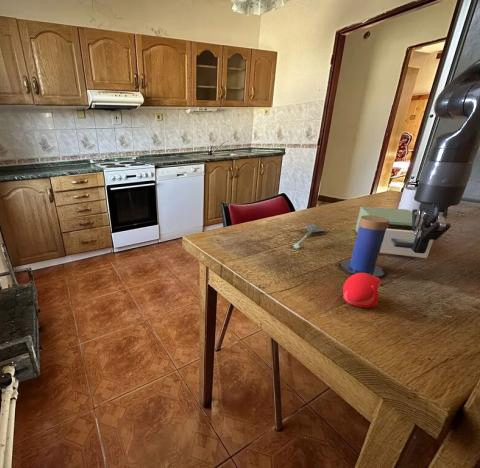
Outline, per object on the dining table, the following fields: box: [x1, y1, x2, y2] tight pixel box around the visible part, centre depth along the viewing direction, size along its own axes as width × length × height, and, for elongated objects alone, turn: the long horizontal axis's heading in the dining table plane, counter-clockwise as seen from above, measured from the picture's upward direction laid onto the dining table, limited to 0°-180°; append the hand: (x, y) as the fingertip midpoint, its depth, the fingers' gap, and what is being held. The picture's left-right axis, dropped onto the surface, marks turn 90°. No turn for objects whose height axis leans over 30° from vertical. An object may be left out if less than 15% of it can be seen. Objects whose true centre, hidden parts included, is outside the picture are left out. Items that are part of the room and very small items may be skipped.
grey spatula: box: [293, 224, 326, 249], centre depth 84 cm, size 22×3×7 cm
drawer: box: [379, 224, 434, 259], centre depth 73 cm, size 19×11×7 cm, turn 156°
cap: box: [342, 273, 382, 308], centre depth 52 cm, size 8×6×6 cm
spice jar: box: [349, 215, 389, 272], centre depth 63 cm, size 5×5×13 cm
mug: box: [397, 186, 421, 212], centre depth 101 cm, size 12×8×11 cm
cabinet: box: [354, 206, 412, 233], centre depth 80 cm, size 16×13×9 cm
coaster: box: [340, 259, 385, 279], centre depth 65 cm, size 9×9×1 cm
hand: (417, 251), depth 63 cm, fingers closed
